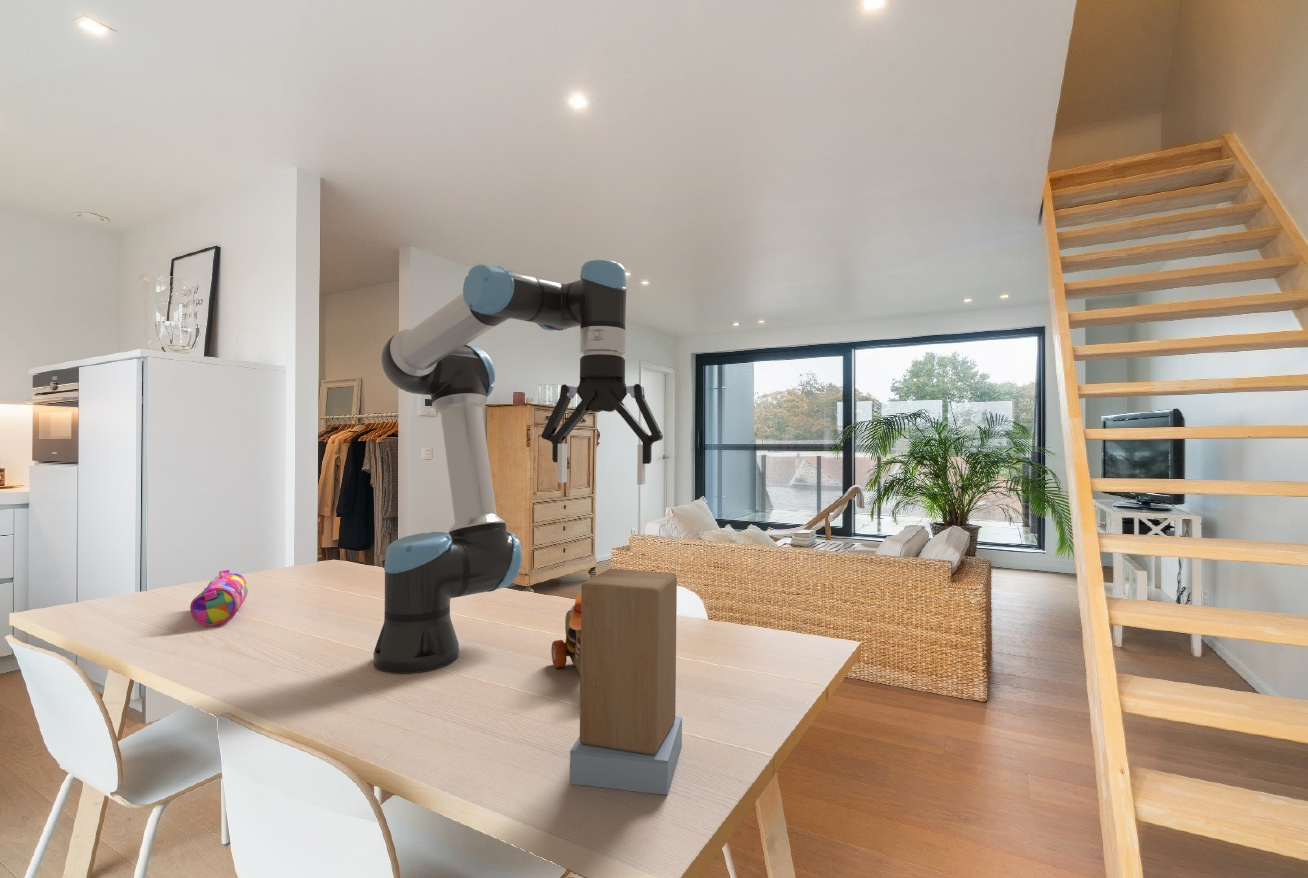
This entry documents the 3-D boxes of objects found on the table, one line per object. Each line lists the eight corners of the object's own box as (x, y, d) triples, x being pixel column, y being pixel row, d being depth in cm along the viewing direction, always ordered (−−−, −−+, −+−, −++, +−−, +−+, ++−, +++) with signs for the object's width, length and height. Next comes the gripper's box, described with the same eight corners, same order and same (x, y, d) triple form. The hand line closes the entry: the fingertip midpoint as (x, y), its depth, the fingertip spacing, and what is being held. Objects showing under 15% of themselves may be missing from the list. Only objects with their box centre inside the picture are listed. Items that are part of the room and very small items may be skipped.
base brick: (569, 783, 74) (570, 750, 74) (597, 737, 86) (597, 708, 86) (667, 795, 72) (667, 760, 72) (681, 746, 84) (682, 716, 84)
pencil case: (202, 607, 151) (203, 571, 152) (248, 603, 156) (248, 567, 156) (188, 631, 133) (189, 589, 133) (240, 625, 137) (241, 585, 137)
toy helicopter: (590, 655, 119) (591, 585, 120) (628, 696, 100) (629, 612, 101) (549, 661, 116) (550, 588, 116) (580, 704, 97) (581, 617, 97)
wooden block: (606, 711, 85) (608, 567, 85) (676, 721, 82) (677, 572, 83) (578, 744, 76) (580, 582, 76) (655, 757, 73) (657, 588, 73)
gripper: (523, 353, 101) (521, 482, 100) (673, 351, 96) (671, 486, 96) (540, 360, 108) (538, 480, 108) (679, 358, 104) (678, 483, 103)
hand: (601, 483), depth 102 cm, fingers open, 13 cm apart
